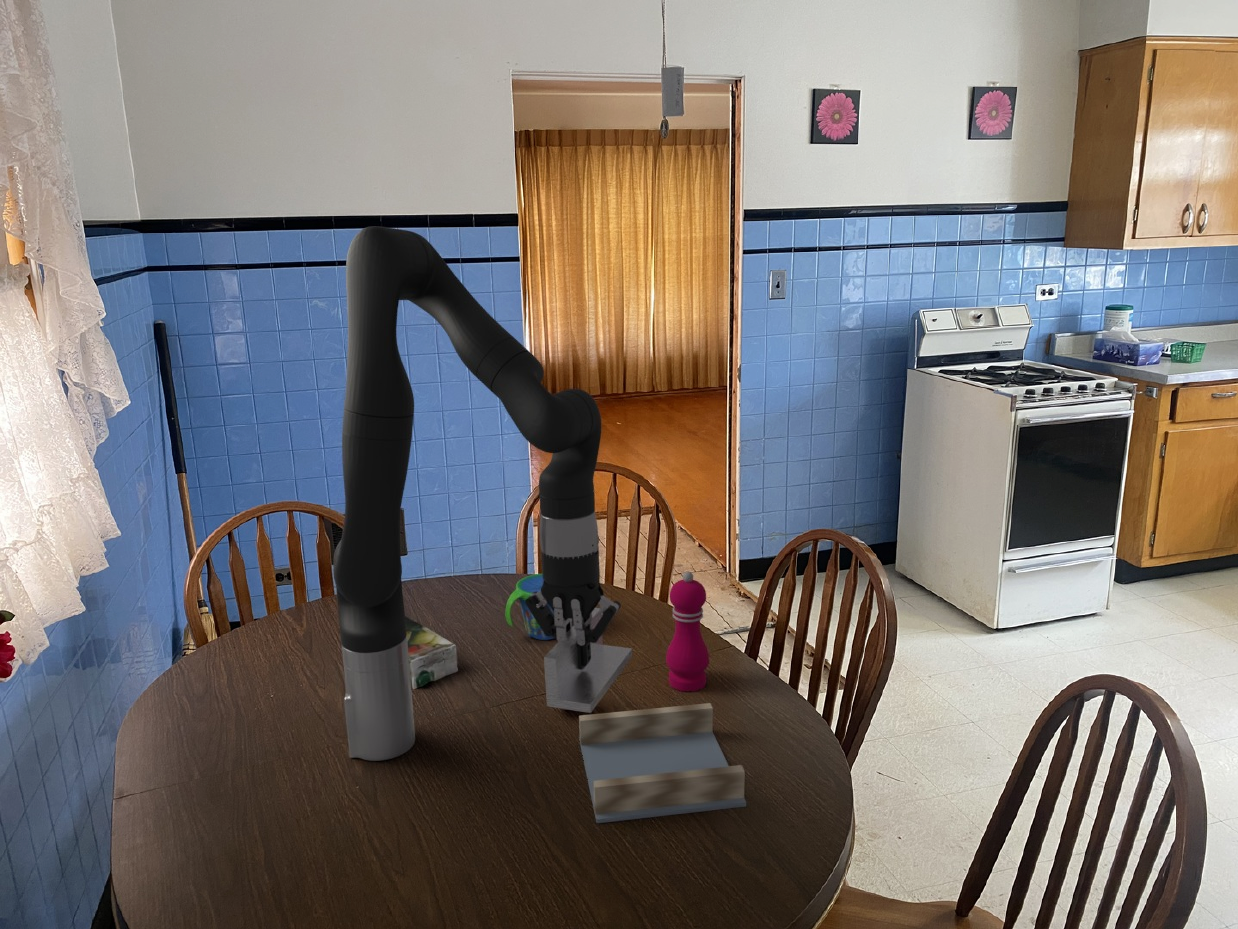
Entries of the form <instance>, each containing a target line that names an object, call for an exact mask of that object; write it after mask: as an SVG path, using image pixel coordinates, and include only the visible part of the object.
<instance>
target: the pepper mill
mask: <svg viewBox="0 0 1238 929" xmlns="http://www.w3.org/2000/svg"><path fill="white" fill-rule="evenodd" d="M669 601H670V603H671V605H672V606H673V607H672V618H673V619H675V621H674V622H675V631H674V633H673V634H674V635H673V638H672V640H671V642H670V644H669V646H668V648H667V651H666V658H665V663H666V666H667V667H668V668H669V673H668V683H669V686H670V687H671V688H672V689H674V688H675V689H674V690H676V689H677V690H676V691H679V690H680V692H684V691H687V693H688V692H689V691H692V692H697V691H700V690H702V689H704V687H705V686H706V684H707V672H706V671H705V670H706V669H708V667H709V665H710V655H709V650H708V647H707V646H706V642H705V641H704V639H703V637H702V632H701V620H702V619H703V618H704V614H703V612H704V609H703V606H704V605H705V603H706V601H707V591H706V589H705V587H704V586H703V584H702V583H701V582H700V581H698V580H695V579H694V574H693V573H692V572H691V571H685V572H684V573H683V574H682V579H679V580H678V581H676V582H675V583H674V584H673V585H672V586H671V588H670V591H669ZM699 689H700V690H699ZM696 690H697V691H696ZM689 693H690V692H689Z"/></svg>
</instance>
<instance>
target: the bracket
mask: <svg viewBox="0 0 1238 929" xmlns="http://www.w3.org/2000/svg"><path fill="white" fill-rule="evenodd" d="M599 610H600V607H595V609H594V610H593V611H592V621H591V629H594V628H595V627H596V625H597V623H598V622H599V620H600V619H601V617H602V616H601V615H600V612H599ZM603 635H604V634H603ZM603 635H602V636H601V637H600V638H599V639H598V641H597V642H596V643H592V642H590V646H591V660H590V662H589V663H588V664H587V666H585V668H584V669H583V670H580V669H578V654H577V645H578V643H577V639H576V629H574V625H572V628H571V629H570V630H569V631H568V632H567V633H566V634H565V635H564V636H563V637H562V639H561V640H560V641H559V642H558V641H557V643H555V645H554V646H553V647H552V648H551V649H550V650H549V651H548V653H546V655H545V656H543V661H544V662H543V665H544V679H545V680H544V681H545V693H546V694H545V695H546V696H545V698H546V707H551V708H556V709H561V708H562V709H561V710H563V709H568V710H567V711H575V712H583V713H589V714H591V713H592V712H593V711H594V709H595V708H596V707H597V705H598V704H599V703H600V702H601V700H602V698H603V697H604V695H605V694H606V693H607V692H608V690H609V689H610V688H611V686H612V685H613V684H614V682H615V681H616V679H617V678H618V677H619V675H620V674H621V673H622V671H623V670H624V668H625V667H626V665H628V663H629V662H630V661H631V659H632V657H633V648H630V647H623V646H616V645H615V646H614V645H606V644H604V642H603V641H604V638H603Z"/></svg>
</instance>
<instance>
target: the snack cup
mask: <svg viewBox="0 0 1238 929" xmlns="http://www.w3.org/2000/svg"><path fill="white" fill-rule="evenodd" d="M543 581H544V580H543V578H542V573H535V574H531V575H527V576H525V577H522V578H520V579H519V580H518V581H517V583H516V585H515V589H514V591H513V592H512V593H511V594H510V595H509V598H508V599H507V601H506V606H505V611H504V612H505V613H504V614H505V615H504V616H505V619H506V623H507V624H508V626H510V627H514V622H513V617H512V608H513V605H514V604H515V603H516V601H517V600H518V601H519V603H520V609H521V614H522V618H523V622H524V623H523V624H524V626H525V627H524V628H525V631H526V633H527V635H528V637H530V638H533V639H536V640H540V641H542V640H543V641H549V640H553V639H555V638H554V637H552V636H550V637H548V636H546V635H545V634H544V632H543V631H542V629H541V627H540V626H539V624H538V623H537V621H536V620H535V618H534V616H533V615H532V613H531V612H530V610H529V608H528V607H527V605H526V604H525V600H526V599H527V598H528V597H529V596H530V595H531V594H533V593H534V592H535V591H537V592H539V591H541V587H542V585H543ZM547 605H548V607H549V609H550V610H551V612H552V613H553V615H554V611H553V610H552V608H551V607H550V606H549V604H548V603H547Z"/></svg>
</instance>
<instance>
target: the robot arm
mask: <svg viewBox="0 0 1238 929" xmlns="http://www.w3.org/2000/svg"><path fill="white" fill-rule="evenodd" d="M348 247H349V248H348V251H347V255H346V260H345V261H346V264H345V265H346V266H345V285H346V312H347V313H346V314H347V355H346V380H345V381H346V382H345V383H346V384H345V393H344V394H345V396H344V404H343V416H342V428H341V429H342V430H341V451H342V452H341V456H342V476H343V487H344V501H345V502H344V507H345V508H344V521H343V526H342V533H341V538H340V541H339V542H338V544H337V546H336V547H335V550H334V554H333V565H332V566H333V567H332V568H333V571H332V572H333V580H334V583H335V589H336V598H337V600H336V601H337V611H338V626H339V636H340V643H341V644H340V645H341V652H342V664H343V673H344V682H345V694H344V698H343V703H344V704H343V705H344V714H345V722H346V733H347V734H346V735H347V740H348V741H347V742H348V743H347V744H348V754H349V758H350V759H352V758H353V759H354V758H359V759H362V760H365V761H370V762H371V761H373V762H376V761H377V762H378V761H386V760H390V759H394V758H397V757H400V756H401V755H403V754H405V753H407V752H408V751H409V750H410V749H411V748H412V747H413V746H414V745H415V742H416V732H415V728H416V727H415V719H414V707H413V694H412V688H411V680H410V668H409V656H408V644H407V632H406V619H405V616H406V612H405V604H404V602H405V601H404V595H403V584H402V574H403V566H402V556H401V553H402V552H401V511H402V510H401V509H402V503H403V502H402V501H403V497H404V491H405V486H406V481H407V477H408V469H409V462H410V455H411V447H412V439H413V430H414V429H413V427H414V416H415V396H414V391H413V389H412V384H411V383H410V382H411V381H410V380H409V379H410V378H409V376H408V374H407V371H406V369H405V366H404V363H403V361H402V357H401V355H400V354H401V353H400V350H399V346H398V339H397V326H398V325H397V324H398V310H399V302H400V301H409V302H411V303H412V304H414V305H416V306H417V307H419V308H420V309H421V310H422V311H424V312H426V313H427V314H428V315H430V316H431V317H432V318H433V319H434V321H436V322H437V323H438V325H440V326H441V328H442V329H443V330H444V332H445V333H446V335H447V337H448V338H449V340H450V343H451V344H452V347H453V348H454V350H455V352H456V354H457V356H458V357H459V359H460V360H461V362H462V363H463V365H464V366H465V367H466V369H468V370H469V372H471V374H472V375H473V376H474V377H475V378H476V379H478V380H479V381H480V382H481V383H482V385H484V386H485V387H486V388H487V389H488V390H489V391H490V392H491V393H492V394H494V395H495V397H496V398H499V400H500V402H501V403H502V405H503V408H504V409H505V411H506V412H507V413H508V415H509V417H510V419H511V420H512V422H513V423H514V425H515V426H516V428H517V429H518V431H519V432H520V434H521V435H522V437H523V438H524V439H525V440H526V441H527V442H528V443H530V445H532V446H533V447H535V448H536V449H538V450H540V451H542V452H545V453H548V454H552V456H551V460H550V462H549V463H548V464H547V466H546V467H545V468H543V469H542V471H541V473H540V475H539V479H538V491H539V492H538V495H539V513H540V518H539V519H540V521H539V544H540V545H539V546H540V560H541V574H542V578H543V580H544V581H543V585H542V587H541V591H539V592H537V591H535V592H534V593H533V594H531V595H530V596H529V597H528V598H527V599H526V600H525V604H526V605H527V607H528V608H529V610H530V612H531V613H532V615H533V616H534V618H535V620H536V621H537V623H538V624H539V626H540V627H541V629H542V631H543V632H544V634H545V635H546V636H548V637H550V636H552V637H554V639H556V640H557V643H558V642H559V641H560V640H561V639H562V637H563V636H564V635H565V634H566V633H567V632H568V631H569V630H570V629H571V628H572V627H573V626H574V629H576V639H577V643H578V645H577V654H578V669H580V670H583V669H584V668H585V666H587V664H588V663H589V662H590V660H591V646H590V642H592V643H596V642H597V641H598V639H599V638H600V637H601V636H602V635H604V634H605V632H606V630H608V629H607V628H608V627H609V625H610V624H611V622H613V619H614V618H615V616H616V615H617V614H618V612H619V610H620V609H621V605H622V604H621V602H619V601H618V600H613V601H612V600H610V599H609V598H608V597H606V596H605V594H604V593H605V592H604V589H603V588H602V586H601V583H600V577H601V574H600V573H601V572H600V571H601V569H600V548H599V543H600V536H599V530H598V529H599V528H598V527H599V526H598V520H597V515H596V508H595V507H596V504H595V488H594V487H595V486H594V477H595V471H596V467H597V463H598V457H599V453H600V452H599V451H600V445H601V438H602V437H601V436H602V417H601V411H600V408H599V406H598V403H597V402H596V400H595V398H594V397H593V396H592V395H591V394H590V393H589V392H587V391H585V390H583V389H581V388H569V389H564V390H561V391H558V392H556V393H553V394H552V393H551V392H549V390H547V389H546V388H545V386H544V385H543V383H542V381H543V380H544V376H545V375H544V374H545V371H544V366H543V364H541V362H540V361H539V359H538V358H537V357H536V356H535V355H534V354H532V353H531V352H530V350H528V349H527V348H526V347H525V346H524V345H523V344H522V343H521V342H519V341H518V339H516V337H514V336H513V335H512V334H511V333H510V332H509V331H507V329H506V328H504V327H503V326H502V324H500V323H499V322H498V321H497V320H496V319H495V318H494V317H493V316H492V315H491V314H490V313H489V312H487V310H486V309H485V308H484V307H483V306H482V305H481V304H480V302H479V301H477V299H475V297H474V296H473V295H472V294H471V292H470V291H469V290H468V289H467V288H466V286H465V285H464V284H463V283H462V282H461V280H459V278H458V276H456V275H455V273H454V272H453V270H452V269H451V268H450V267H449V265H448V264H447V263H446V261H445V260H444V258H443V257H442V256H441V255H440V253H439V252H438V251H437V249H436V248H435V247H434V246H433V245H432V244H431V242H430V241H428V239H426V238H425V236H422V235H421V234H418V233H416V232H415V231H411V230H406V229H401V228H394V227H387V226H378V225H377V226H376V225H373V226H367V227H364V228H362V229H360V230H359V231H358V232H357V233H356V234H355V236H354V237H353V239H352V240H351V242H350V244H349V246H348ZM547 603H548V604H549V606H550V607H551V608H552V610H553V611H554V615H553V613H552V612H551V610H550V609H549V607H548V605H547ZM598 605H599V608H600V610H599V612H600V615H601V616H602V617H601V619H600V620H599V622H598V623H597V625H596V627H595V628H594V629H591V621H592V611H593V610H594V609H595V608H597V607H598Z"/></svg>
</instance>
